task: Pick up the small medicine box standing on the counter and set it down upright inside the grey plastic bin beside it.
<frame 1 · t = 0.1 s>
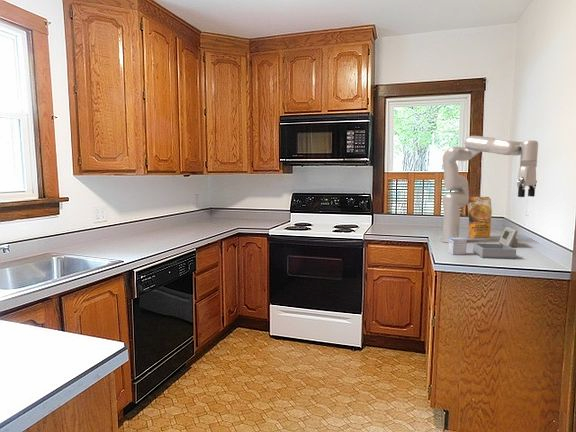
hand: (526, 196, 207), 31 cm above the countertop, tool pointing down, fingers open, 9 cm apart
digital clock: (507, 245, 236), on the countertop
pancake mix bag: (478, 237, 265), on the countertop
medicine box: (457, 254, 210), on the countertop
bin: (493, 255, 206), on the countertop
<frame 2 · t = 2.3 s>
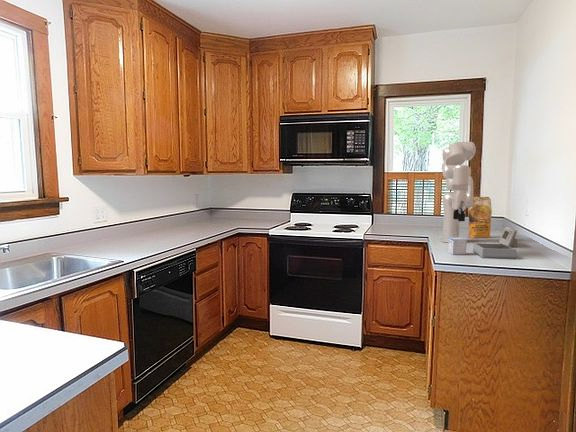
hand: (458, 220, 208), 18 cm above the countertop, tool pointing down, fingers open, 9 cm apart
nothing on the countertop moved.
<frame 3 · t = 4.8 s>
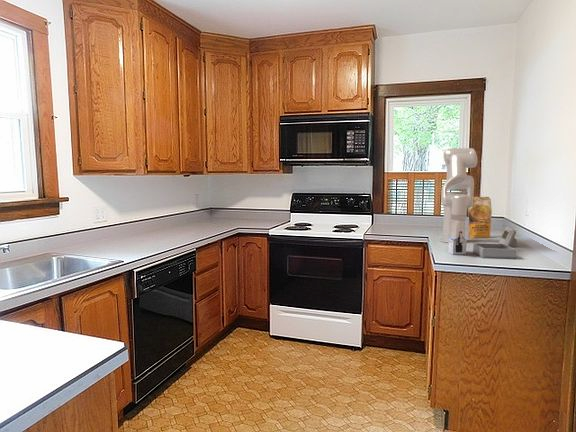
hand: (457, 250, 210), 2 cm above the countertop, tool pointing down, fingers closed on medicine box, 5 cm apart
medicine box: (457, 254, 210), on the countertop, touching gripper
everything else where it was.
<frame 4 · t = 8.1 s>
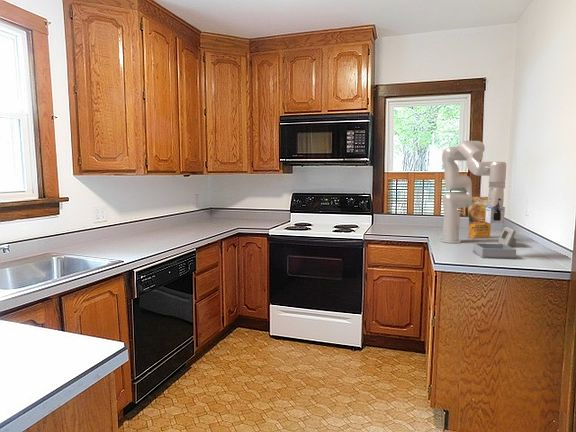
hand: (494, 219, 204), 19 cm above the countertop, tool pointing down, fingers closed on medicine box, 5 cm apart
medicine box: (494, 223, 205), point 17 cm above the countertop, touching gripper
everything else where it was.
when the fingers open (5 cm above the countertop, at t = 11.7 s): medicine box drops 2 cm, resting on bin.
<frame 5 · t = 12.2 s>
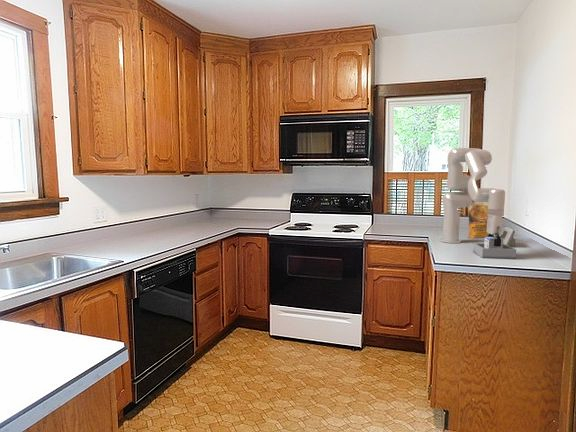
hand: (493, 244, 206), 6 cm above the countertop, tool pointing down, fingers open, 9 cm apart
medicine box: (493, 253, 206), point 1 cm above the countertop, touching bin
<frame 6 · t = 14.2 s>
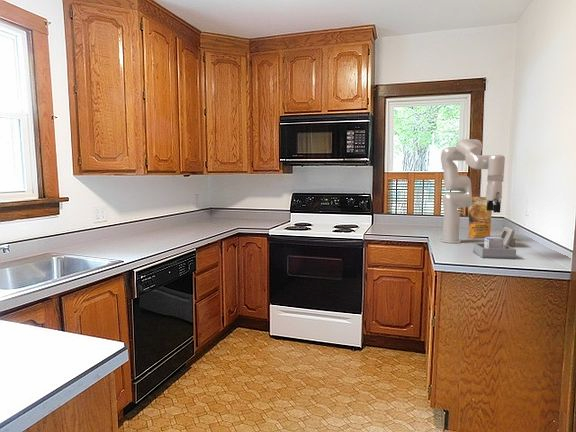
hand: (493, 211, 205), 23 cm above the countertop, tool pointing down, fingers open, 9 cm apart
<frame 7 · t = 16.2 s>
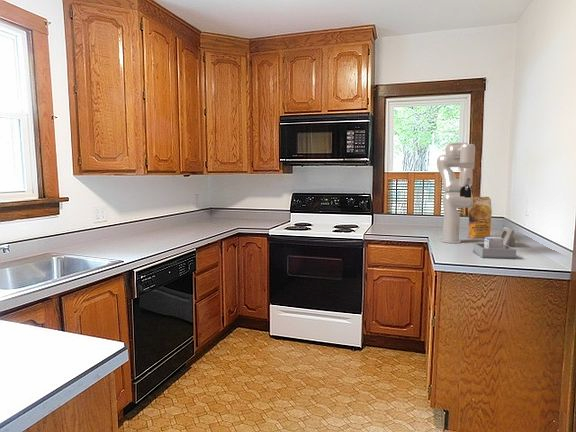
hand: (465, 197, 218), 30 cm above the countertop, tool pointing down, fingers open, 9 cm apart
at the end: medicine box inside the target area on the bin (0.1 cm from its centre), point 0.8 cm above the bin's base; the gripper is holding nothing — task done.
